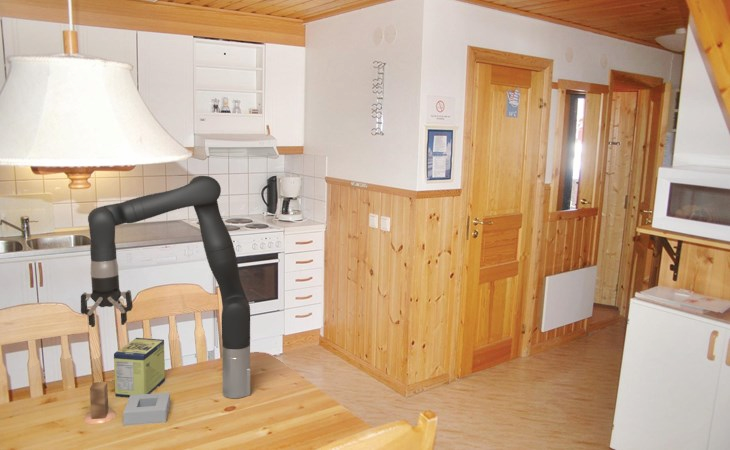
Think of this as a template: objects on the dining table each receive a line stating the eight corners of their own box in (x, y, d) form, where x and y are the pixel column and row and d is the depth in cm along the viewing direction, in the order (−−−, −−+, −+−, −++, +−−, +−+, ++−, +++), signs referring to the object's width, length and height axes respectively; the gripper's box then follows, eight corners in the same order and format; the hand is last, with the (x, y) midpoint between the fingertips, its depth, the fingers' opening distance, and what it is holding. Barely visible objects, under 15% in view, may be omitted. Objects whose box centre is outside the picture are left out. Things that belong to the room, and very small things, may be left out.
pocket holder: (170, 405, 184) (169, 392, 183) (165, 423, 172) (165, 410, 172) (130, 408, 181) (130, 395, 181) (123, 427, 170) (123, 413, 169)
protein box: (165, 380, 202) (164, 338, 200) (144, 400, 187) (143, 355, 184) (137, 378, 203) (136, 337, 201) (114, 398, 188) (112, 353, 185)
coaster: (118, 409, 180) (118, 407, 180) (112, 423, 171) (112, 421, 171) (88, 412, 178) (87, 409, 178) (80, 426, 169) (80, 423, 169)
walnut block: (108, 412, 177) (107, 381, 175) (105, 418, 173) (104, 387, 171) (94, 412, 176) (93, 382, 175) (91, 419, 172) (89, 388, 171)
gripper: (131, 269, 177) (134, 319, 179) (82, 272, 173) (85, 322, 176) (128, 275, 170) (131, 327, 172) (76, 278, 166) (79, 331, 169)
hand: (108, 325), depth 174 cm, fingers open, 8 cm apart
